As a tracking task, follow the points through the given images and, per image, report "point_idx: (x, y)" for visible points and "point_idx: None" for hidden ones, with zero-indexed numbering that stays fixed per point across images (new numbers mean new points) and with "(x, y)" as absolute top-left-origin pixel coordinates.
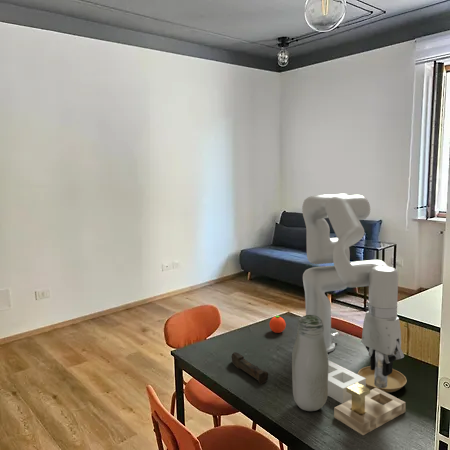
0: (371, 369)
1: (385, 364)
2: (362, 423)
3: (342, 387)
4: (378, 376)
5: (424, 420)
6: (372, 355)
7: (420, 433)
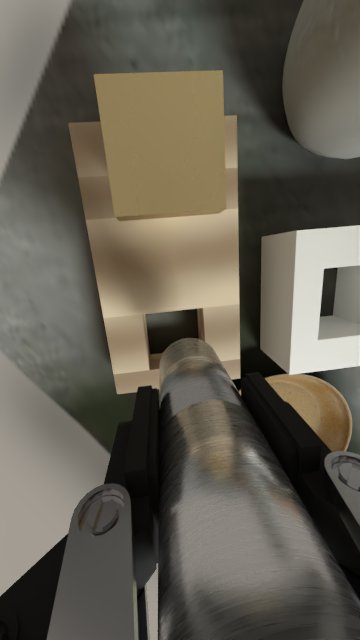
0: (250, 373)
1: (127, 465)
2: (78, 128)
3: (304, 234)
4: (184, 365)
5: (63, 389)
6: (323, 476)
7: (14, 330)
